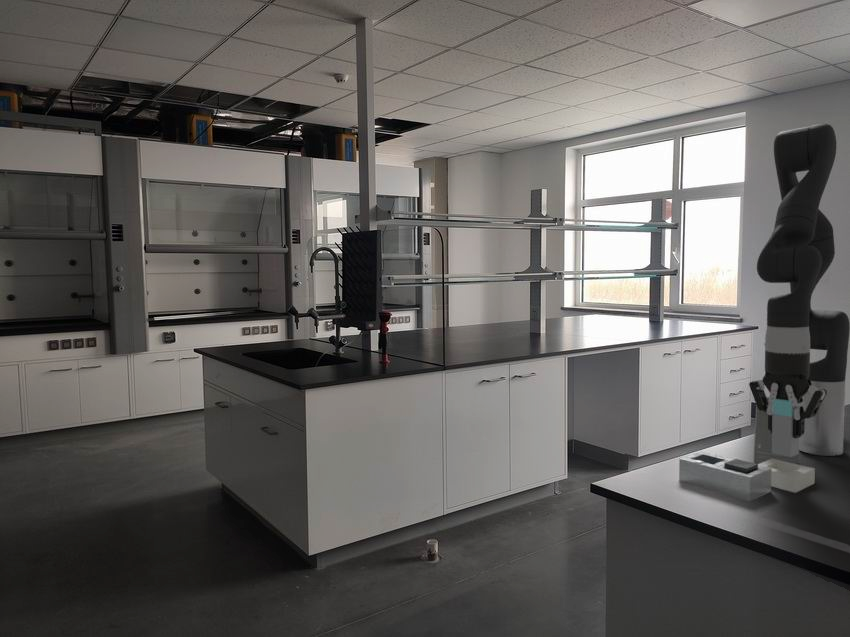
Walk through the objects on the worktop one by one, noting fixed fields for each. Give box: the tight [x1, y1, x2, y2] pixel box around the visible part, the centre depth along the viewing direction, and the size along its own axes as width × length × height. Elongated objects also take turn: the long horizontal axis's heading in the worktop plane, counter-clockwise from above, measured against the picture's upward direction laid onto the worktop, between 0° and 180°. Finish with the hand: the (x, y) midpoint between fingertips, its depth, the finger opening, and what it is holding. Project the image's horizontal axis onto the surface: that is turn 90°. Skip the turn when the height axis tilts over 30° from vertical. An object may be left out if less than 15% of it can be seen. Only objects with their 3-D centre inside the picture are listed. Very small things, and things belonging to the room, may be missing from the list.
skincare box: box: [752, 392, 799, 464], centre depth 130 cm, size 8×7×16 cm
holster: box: [758, 459, 816, 493], centre depth 118 cm, size 8×8×4 cm
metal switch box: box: [678, 450, 772, 502], centre depth 117 cm, size 8×14×6 cm, turn 35°
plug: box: [772, 398, 800, 457], centre depth 117 cm, size 4×4×11 cm
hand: (785, 434), depth 117 cm, fingers closed on plug, 3 cm apart
